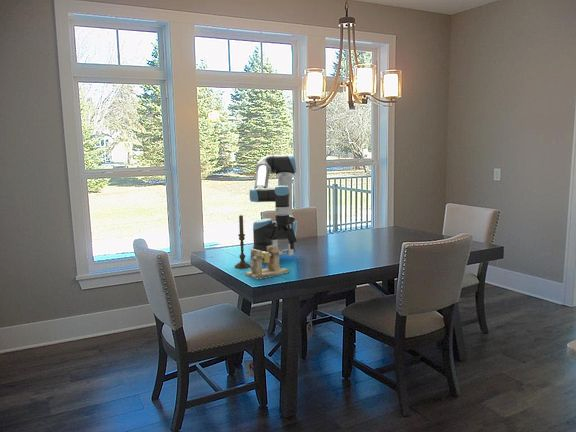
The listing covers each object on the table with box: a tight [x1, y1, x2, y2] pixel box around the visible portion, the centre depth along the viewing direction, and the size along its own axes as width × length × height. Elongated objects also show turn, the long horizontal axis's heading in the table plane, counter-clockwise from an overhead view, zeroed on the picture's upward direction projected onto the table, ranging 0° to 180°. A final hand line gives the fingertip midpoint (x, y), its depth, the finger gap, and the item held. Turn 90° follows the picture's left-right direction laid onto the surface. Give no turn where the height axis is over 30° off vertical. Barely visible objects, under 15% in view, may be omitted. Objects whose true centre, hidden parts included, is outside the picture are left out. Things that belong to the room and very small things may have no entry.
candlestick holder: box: [234, 214, 251, 269], centre depth 265 cm, size 9×9×30 cm
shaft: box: [253, 247, 296, 260], centre depth 253 cm, size 4×26×4 cm, turn 129°
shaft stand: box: [245, 246, 290, 280], centre depth 251 cm, size 12×20×14 cm, turn 129°
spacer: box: [262, 251, 270, 264], centre depth 249 cm, size 5×3×5 cm, turn 39°
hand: (283, 253), depth 257 cm, fingers open, 13 cm apart
